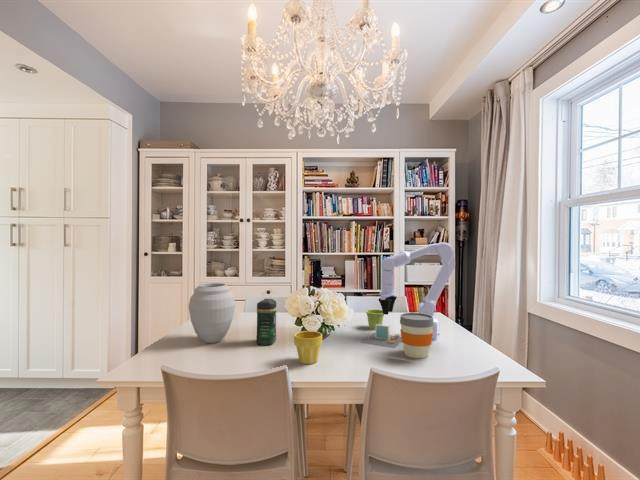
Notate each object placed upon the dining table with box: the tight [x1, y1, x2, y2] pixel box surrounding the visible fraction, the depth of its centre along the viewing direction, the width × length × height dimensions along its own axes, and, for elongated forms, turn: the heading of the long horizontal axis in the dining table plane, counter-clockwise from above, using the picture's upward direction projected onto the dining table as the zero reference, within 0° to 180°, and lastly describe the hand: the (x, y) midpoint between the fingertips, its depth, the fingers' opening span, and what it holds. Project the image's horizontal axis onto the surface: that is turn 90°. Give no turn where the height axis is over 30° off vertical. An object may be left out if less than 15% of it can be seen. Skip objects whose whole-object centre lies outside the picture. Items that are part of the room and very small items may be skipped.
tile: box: [375, 323, 391, 340], centre depth 152 cm, size 6×2×6 cm, turn 61°
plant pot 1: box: [293, 330, 323, 365], centre depth 126 cm, size 10×10×10 cm
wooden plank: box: [386, 333, 400, 344], centre depth 150 cm, size 11×3×1 cm, turn 151°
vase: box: [188, 282, 236, 344], centre depth 150 cm, size 20×20×24 cm
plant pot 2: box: [365, 308, 385, 331], centre depth 170 cm, size 9×9×9 cm
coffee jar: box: [256, 298, 277, 346], centre depth 148 cm, size 10×8×19 cm
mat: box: [360, 332, 403, 349], centre depth 150 cm, size 15×17×1 cm
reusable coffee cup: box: [399, 312, 434, 359], centre depth 132 cm, size 12×13×15 cm
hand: (387, 312), depth 158 cm, fingers open, 6 cm apart
